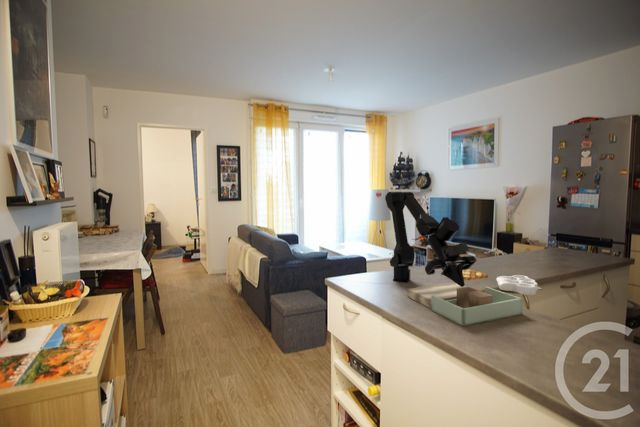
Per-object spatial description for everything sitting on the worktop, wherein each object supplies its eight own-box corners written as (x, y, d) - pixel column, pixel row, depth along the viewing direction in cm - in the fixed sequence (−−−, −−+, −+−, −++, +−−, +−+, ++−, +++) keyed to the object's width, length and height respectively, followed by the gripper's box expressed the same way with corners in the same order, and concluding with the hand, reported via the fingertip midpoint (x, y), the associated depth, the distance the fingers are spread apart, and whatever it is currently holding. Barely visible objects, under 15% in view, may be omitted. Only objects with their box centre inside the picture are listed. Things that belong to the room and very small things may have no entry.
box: (431, 310, 109) (431, 295, 109) (485, 300, 118) (486, 286, 117) (463, 326, 96) (463, 309, 96) (522, 313, 105) (522, 298, 104)
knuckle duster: (495, 280, 142) (535, 284, 137) (500, 293, 126) (545, 297, 120) (495, 273, 142) (535, 276, 137) (500, 284, 126) (546, 288, 120)
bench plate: (407, 296, 123) (407, 288, 123) (454, 289, 131) (454, 281, 130) (433, 309, 110) (433, 300, 110) (483, 300, 118) (483, 292, 117)
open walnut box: (456, 288, 111) (480, 297, 102) (468, 286, 113) (492, 295, 103) (456, 305, 111) (480, 316, 102) (468, 303, 113) (492, 314, 104)
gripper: (430, 237, 112) (453, 276, 102) (473, 233, 118) (498, 270, 109) (416, 255, 120) (436, 294, 110) (456, 251, 126) (478, 287, 117)
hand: (463, 286), depth 112 cm, fingers closed
